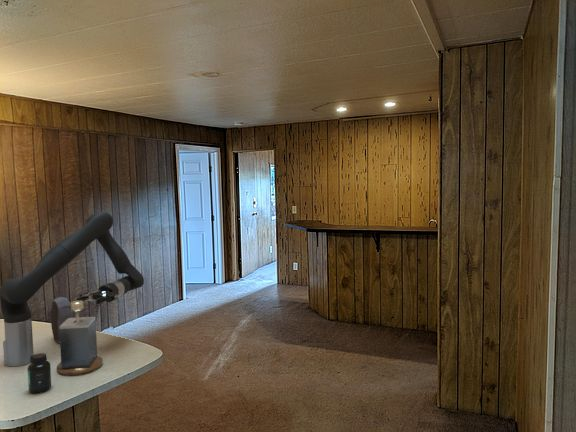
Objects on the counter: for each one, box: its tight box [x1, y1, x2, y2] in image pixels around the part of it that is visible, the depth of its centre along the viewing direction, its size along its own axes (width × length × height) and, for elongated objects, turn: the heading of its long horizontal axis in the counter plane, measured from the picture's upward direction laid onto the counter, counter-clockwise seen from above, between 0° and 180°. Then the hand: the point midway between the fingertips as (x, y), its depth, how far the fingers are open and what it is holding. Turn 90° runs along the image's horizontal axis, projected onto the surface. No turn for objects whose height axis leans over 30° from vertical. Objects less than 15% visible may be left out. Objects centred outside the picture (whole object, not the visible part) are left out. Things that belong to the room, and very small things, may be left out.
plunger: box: [70, 300, 85, 322], centre depth 168 cm, size 7×7×22 cm
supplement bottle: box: [27, 352, 52, 395], centre depth 151 cm, size 7×7×12 cm
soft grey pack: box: [50, 296, 76, 343], centre depth 197 cm, size 15×8×20 cm, turn 42°
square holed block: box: [56, 316, 104, 377], centre depth 169 cm, size 16×16×18 cm
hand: (87, 301), depth 173 cm, fingers open, 8 cm apart
